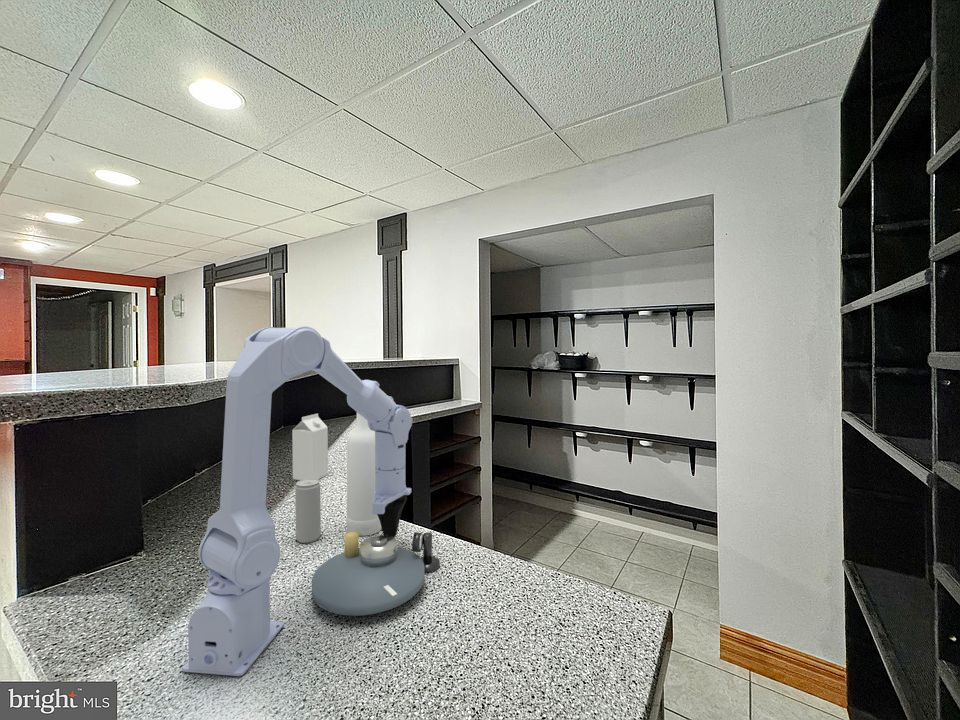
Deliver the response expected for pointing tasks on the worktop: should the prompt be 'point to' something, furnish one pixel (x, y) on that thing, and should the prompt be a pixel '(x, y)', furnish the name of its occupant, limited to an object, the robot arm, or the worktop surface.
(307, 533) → the beverage can
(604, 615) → the worktop surface
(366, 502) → the bottle
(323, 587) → the turntable
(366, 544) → the cover
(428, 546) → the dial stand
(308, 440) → the milk carton
